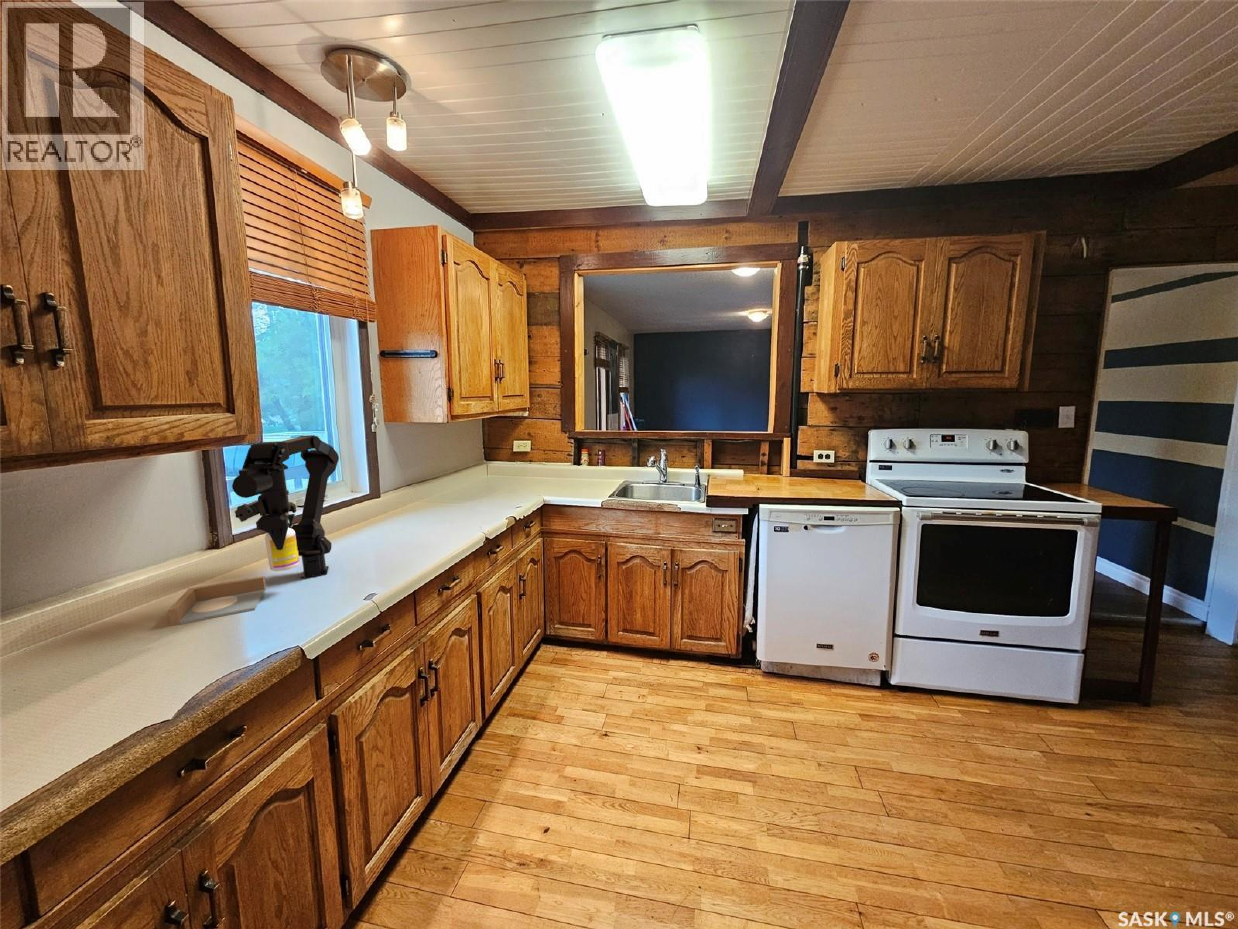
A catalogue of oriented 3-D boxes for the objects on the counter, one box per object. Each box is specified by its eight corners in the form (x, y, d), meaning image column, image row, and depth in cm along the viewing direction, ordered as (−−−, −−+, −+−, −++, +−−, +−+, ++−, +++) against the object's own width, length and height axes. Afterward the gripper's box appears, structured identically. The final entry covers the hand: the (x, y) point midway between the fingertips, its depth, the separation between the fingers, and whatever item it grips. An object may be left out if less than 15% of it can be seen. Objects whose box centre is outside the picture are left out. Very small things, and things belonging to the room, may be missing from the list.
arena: (191, 602, 125) (188, 588, 124) (266, 589, 132) (263, 575, 131) (171, 625, 112) (168, 609, 112) (255, 609, 119) (252, 594, 119)
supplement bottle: (304, 565, 130) (298, 519, 128) (278, 573, 124) (270, 526, 122) (292, 561, 133) (285, 517, 131) (265, 569, 128) (258, 523, 125)
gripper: (243, 486, 130) (252, 541, 132) (225, 500, 113) (236, 562, 116) (292, 482, 135) (300, 535, 137) (281, 494, 118) (290, 554, 121)
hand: (282, 546), depth 128 cm, fingers closed on supplement bottle, 7 cm apart
